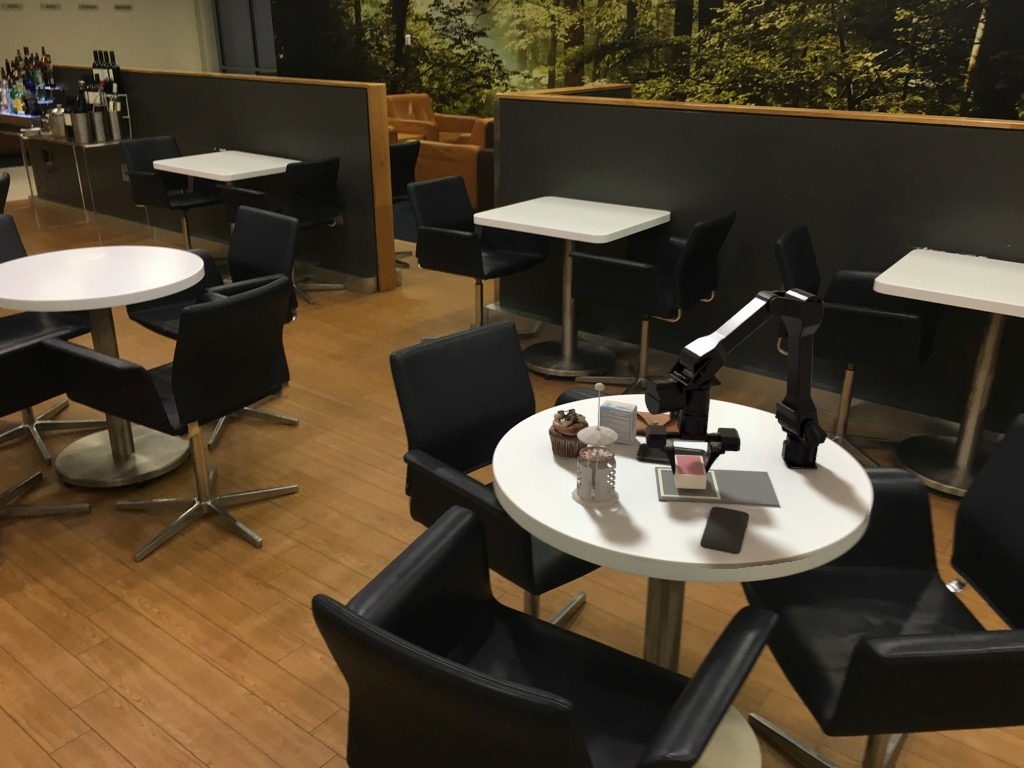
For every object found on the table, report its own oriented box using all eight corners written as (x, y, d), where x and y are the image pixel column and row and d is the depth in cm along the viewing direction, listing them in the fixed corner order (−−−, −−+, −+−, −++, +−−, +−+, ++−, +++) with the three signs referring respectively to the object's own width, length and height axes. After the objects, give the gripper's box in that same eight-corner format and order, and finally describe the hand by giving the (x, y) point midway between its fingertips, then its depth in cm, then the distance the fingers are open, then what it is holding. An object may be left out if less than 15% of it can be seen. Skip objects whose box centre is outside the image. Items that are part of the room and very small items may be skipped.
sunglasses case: (615, 434, 201) (618, 406, 202) (617, 437, 208) (620, 410, 209) (693, 441, 197) (695, 413, 198) (692, 444, 204) (694, 416, 205)
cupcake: (599, 452, 192) (600, 412, 188) (565, 464, 187) (566, 423, 183) (572, 437, 200) (573, 398, 196) (539, 448, 194) (540, 408, 191)
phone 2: (640, 442, 195) (706, 449, 192) (640, 447, 196) (706, 454, 192) (636, 457, 188) (704, 465, 185) (635, 462, 189) (704, 470, 185)
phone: (699, 545, 157) (712, 505, 169) (698, 548, 157) (711, 509, 170) (739, 553, 154) (750, 512, 167) (739, 557, 154) (749, 516, 167)
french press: (621, 486, 178) (627, 376, 168) (615, 514, 167) (621, 398, 158) (575, 481, 180) (578, 372, 170) (566, 509, 169) (569, 394, 160)
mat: (767, 473, 183) (767, 471, 183) (779, 506, 170) (779, 504, 170) (654, 468, 185) (655, 466, 185) (658, 500, 172) (658, 498, 172)
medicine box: (636, 438, 199) (638, 404, 196) (630, 446, 195) (632, 411, 192) (604, 432, 202) (605, 399, 199) (598, 439, 198) (599, 406, 195)
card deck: (705, 489, 173) (706, 475, 172) (675, 487, 174) (676, 474, 172) (701, 468, 181) (702, 455, 180) (672, 467, 182) (673, 454, 181)
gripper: (736, 392, 178) (729, 458, 184) (646, 389, 179) (642, 455, 185) (744, 414, 167) (736, 483, 173) (649, 410, 169) (644, 479, 175)
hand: (689, 474), depth 177 cm, fingers closed on card deck, 6 cm apart
